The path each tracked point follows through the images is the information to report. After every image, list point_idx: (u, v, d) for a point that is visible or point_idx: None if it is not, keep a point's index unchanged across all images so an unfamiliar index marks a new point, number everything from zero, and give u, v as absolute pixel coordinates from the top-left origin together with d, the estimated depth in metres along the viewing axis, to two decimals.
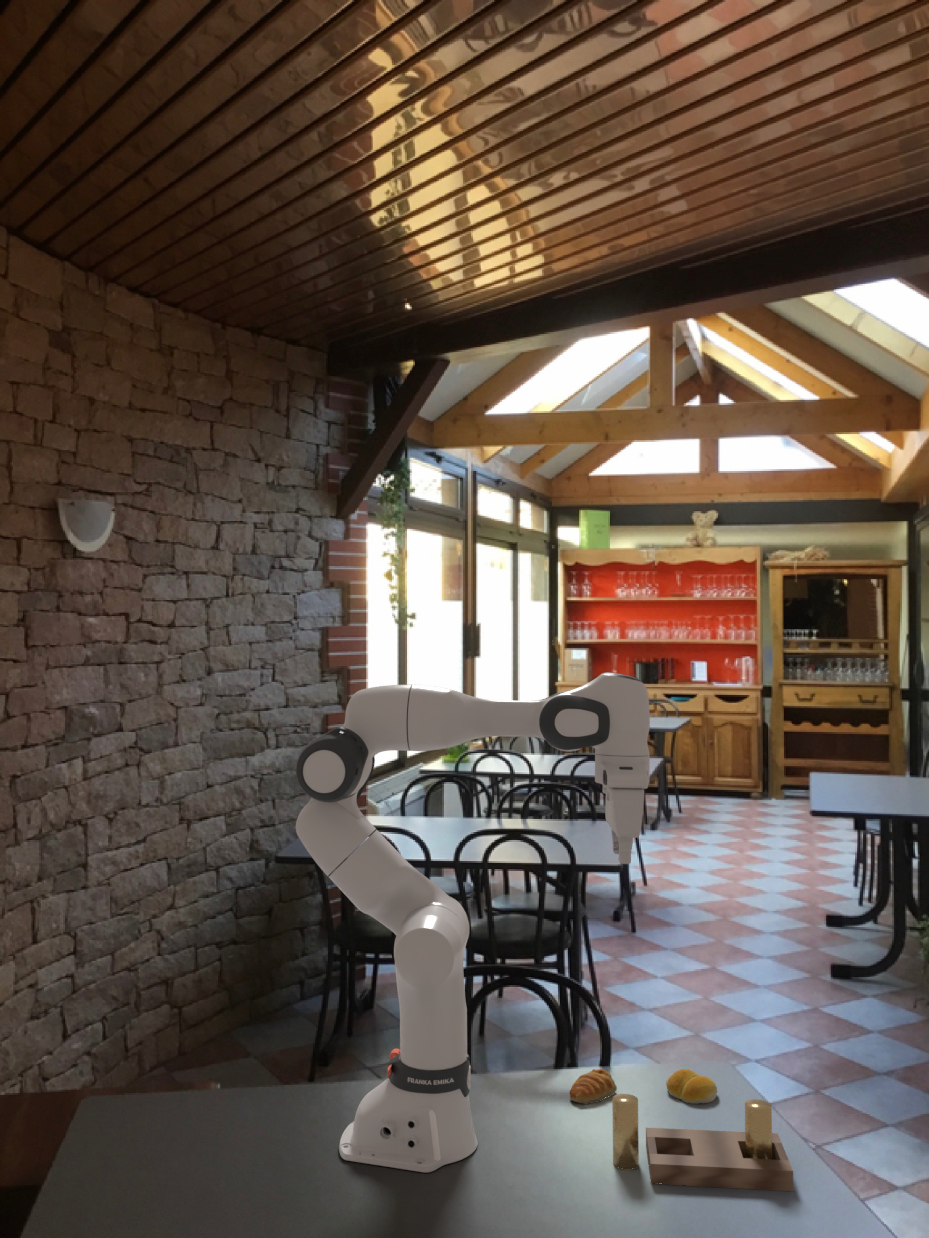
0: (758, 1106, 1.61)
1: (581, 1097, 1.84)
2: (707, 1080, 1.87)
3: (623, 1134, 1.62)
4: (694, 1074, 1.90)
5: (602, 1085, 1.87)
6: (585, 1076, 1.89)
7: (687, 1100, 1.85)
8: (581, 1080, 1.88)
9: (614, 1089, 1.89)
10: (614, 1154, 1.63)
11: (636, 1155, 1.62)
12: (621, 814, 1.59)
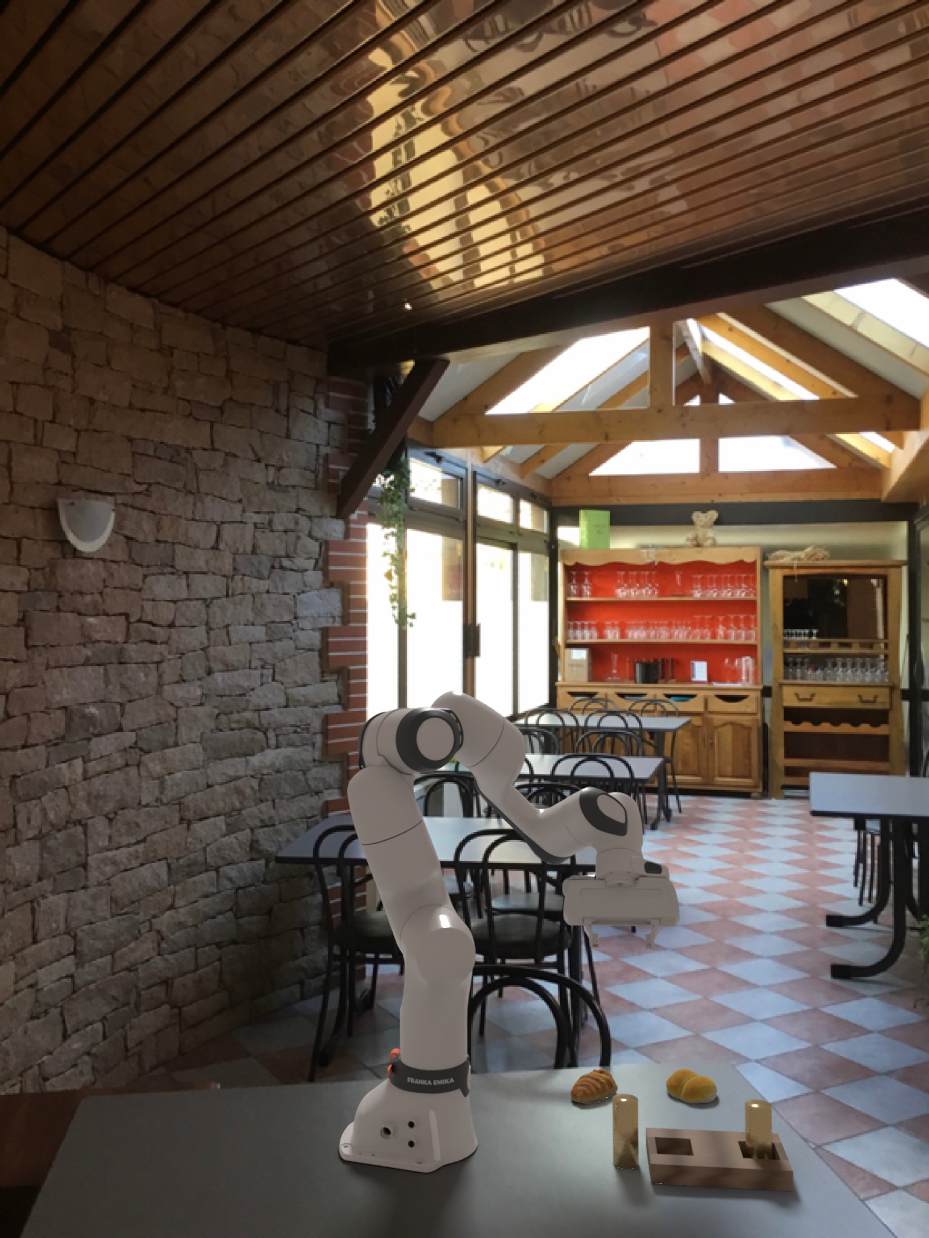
0: (758, 1106, 1.61)
1: (583, 1097, 1.84)
2: (707, 1080, 1.87)
3: (623, 1134, 1.62)
4: (694, 1074, 1.90)
5: (604, 1085, 1.87)
6: (586, 1076, 1.89)
7: (687, 1100, 1.85)
8: (582, 1080, 1.88)
9: (615, 1089, 1.89)
10: (614, 1154, 1.63)
11: (636, 1155, 1.62)
12: None
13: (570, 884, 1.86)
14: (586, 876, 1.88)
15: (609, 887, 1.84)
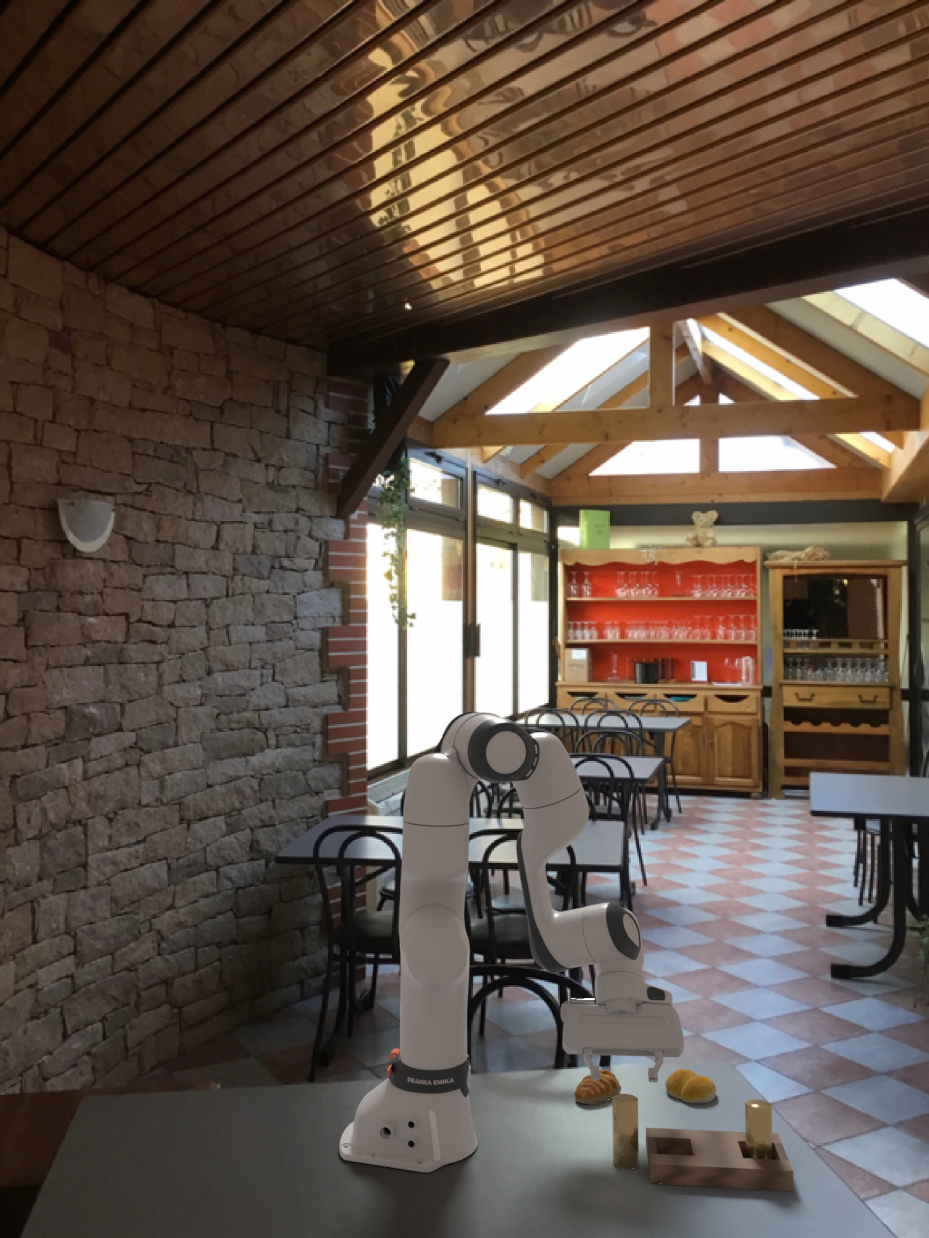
0: (758, 1106, 1.61)
1: (587, 1098, 1.84)
2: (706, 1080, 1.87)
3: (623, 1134, 1.62)
4: (693, 1074, 1.90)
5: (608, 1086, 1.86)
6: (590, 1077, 1.89)
7: (686, 1100, 1.85)
8: (586, 1081, 1.88)
9: (619, 1089, 1.89)
10: (614, 1154, 1.63)
11: (636, 1155, 1.62)
12: None
13: (569, 1009, 1.77)
14: (585, 1000, 1.80)
15: (610, 1014, 1.76)
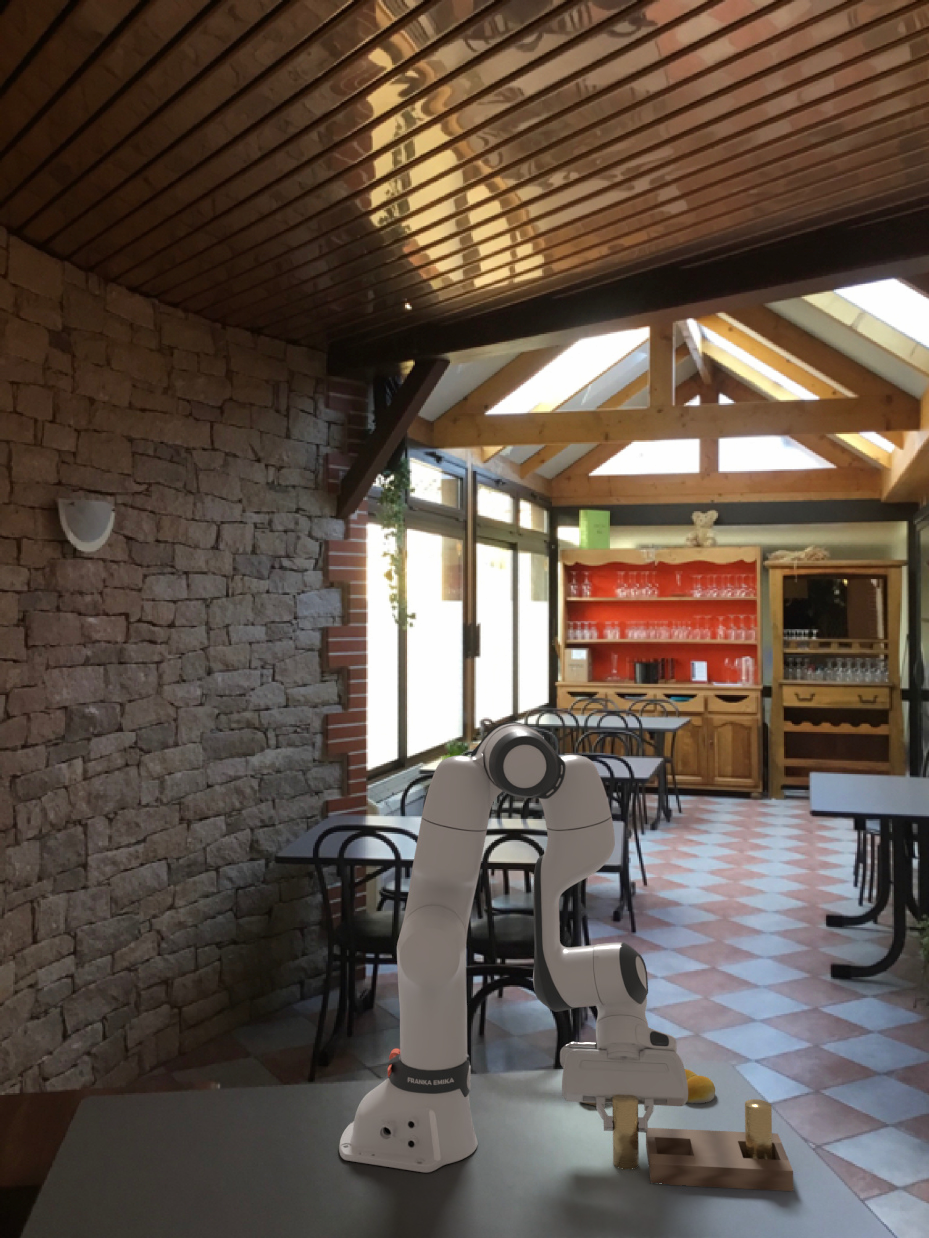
0: (758, 1106, 1.61)
1: None
2: (705, 1080, 1.87)
3: (623, 1134, 1.62)
4: (692, 1074, 1.90)
5: None
6: None
7: None
8: None
9: None
10: (614, 1154, 1.63)
11: (636, 1155, 1.62)
12: None
13: (569, 1054, 1.71)
14: (586, 1044, 1.73)
15: (611, 1059, 1.69)
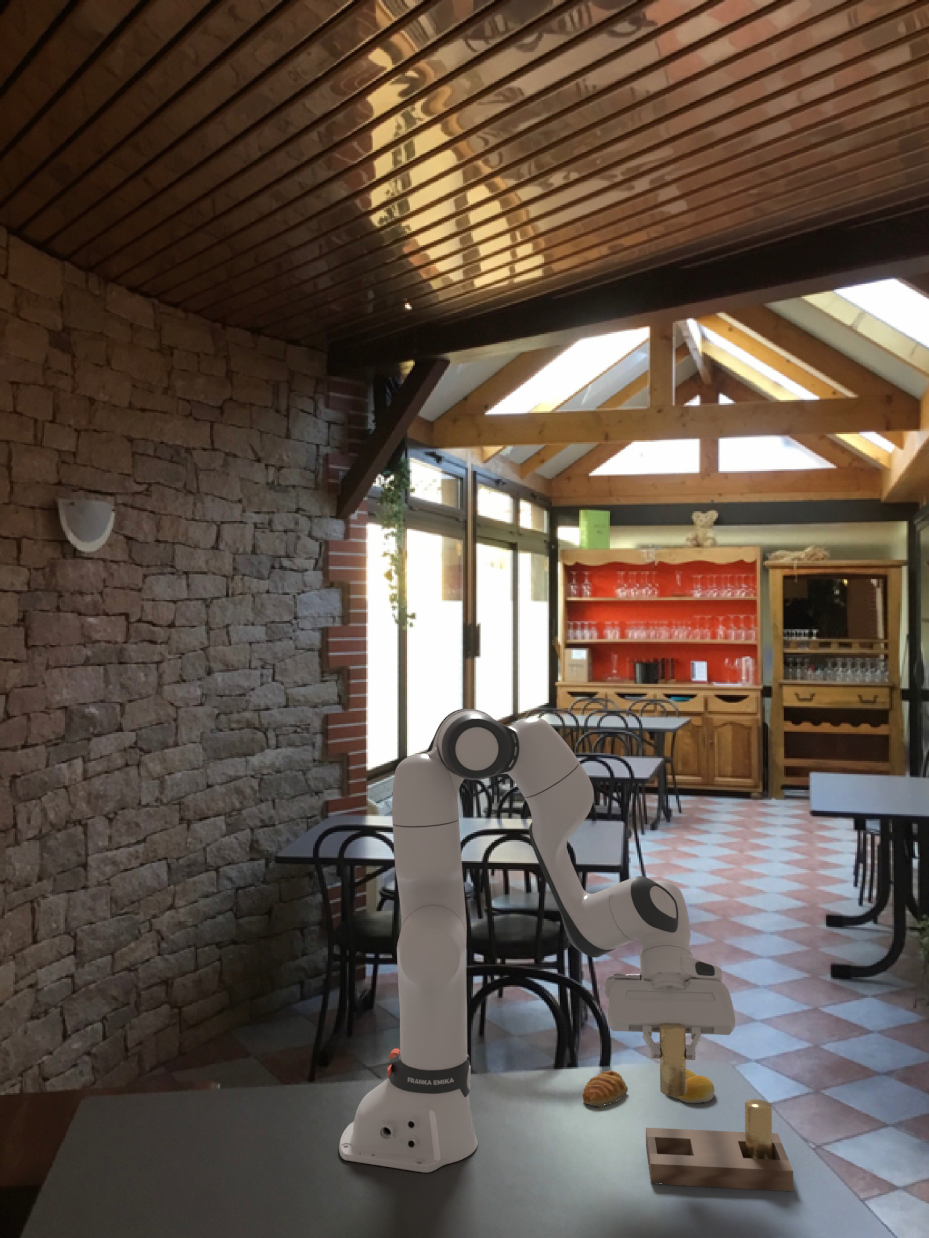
0: (758, 1106, 1.61)
1: (596, 1100, 1.83)
2: (704, 1079, 1.87)
3: (671, 1060, 1.61)
4: (691, 1074, 1.90)
5: (615, 1087, 1.86)
6: (597, 1078, 1.88)
7: (684, 1100, 1.85)
8: (593, 1083, 1.87)
9: (626, 1090, 1.88)
10: (662, 1081, 1.62)
11: (684, 1082, 1.62)
12: None
13: (614, 985, 1.70)
14: (630, 975, 1.72)
15: (657, 989, 1.69)
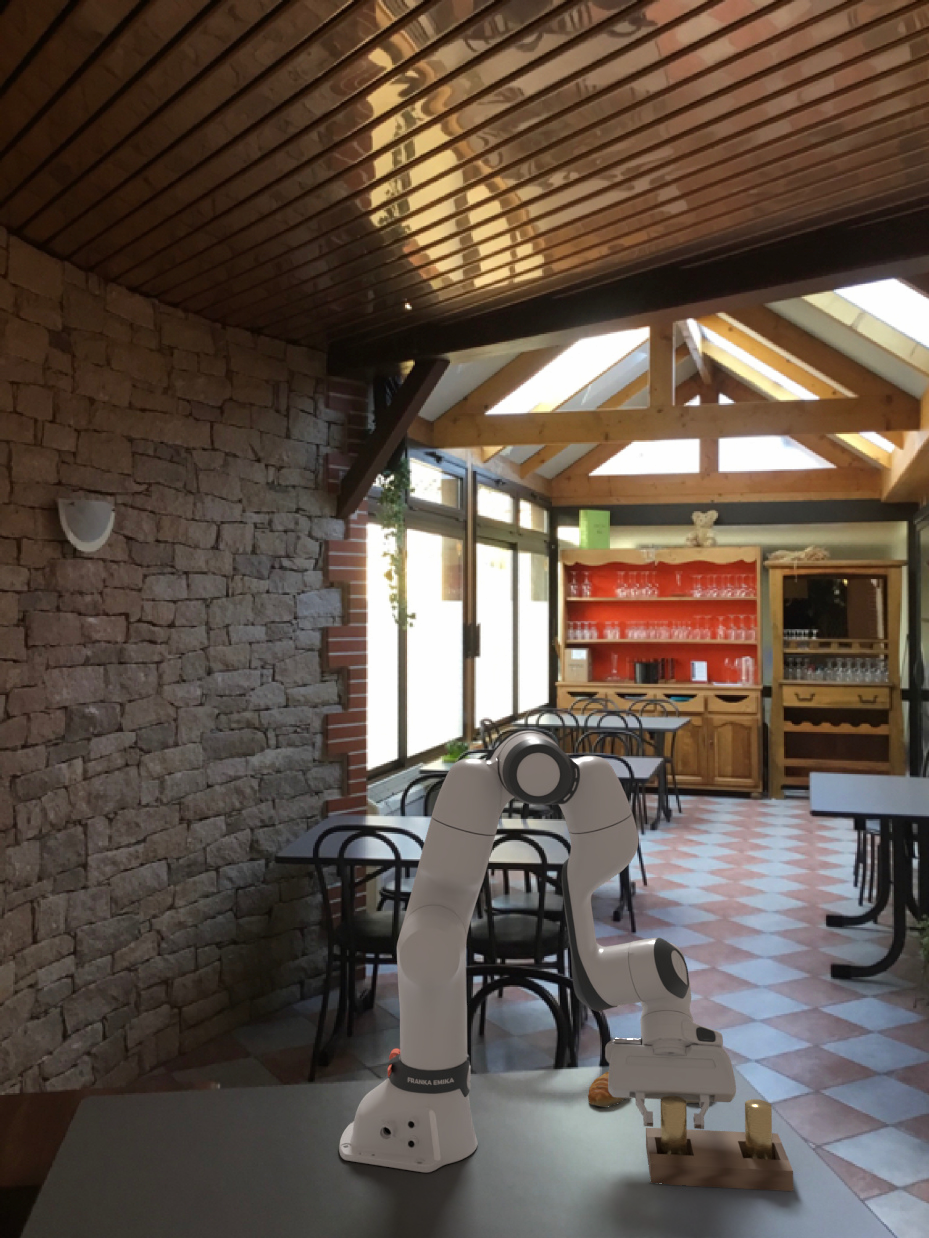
0: (758, 1106, 1.61)
1: (602, 1100, 1.83)
2: None
3: (672, 1136, 1.61)
4: None
5: None
6: (601, 1079, 1.88)
7: None
8: (598, 1083, 1.87)
9: None
10: None
11: None
12: None
13: (615, 1050, 1.70)
14: (631, 1040, 1.72)
15: (658, 1055, 1.69)
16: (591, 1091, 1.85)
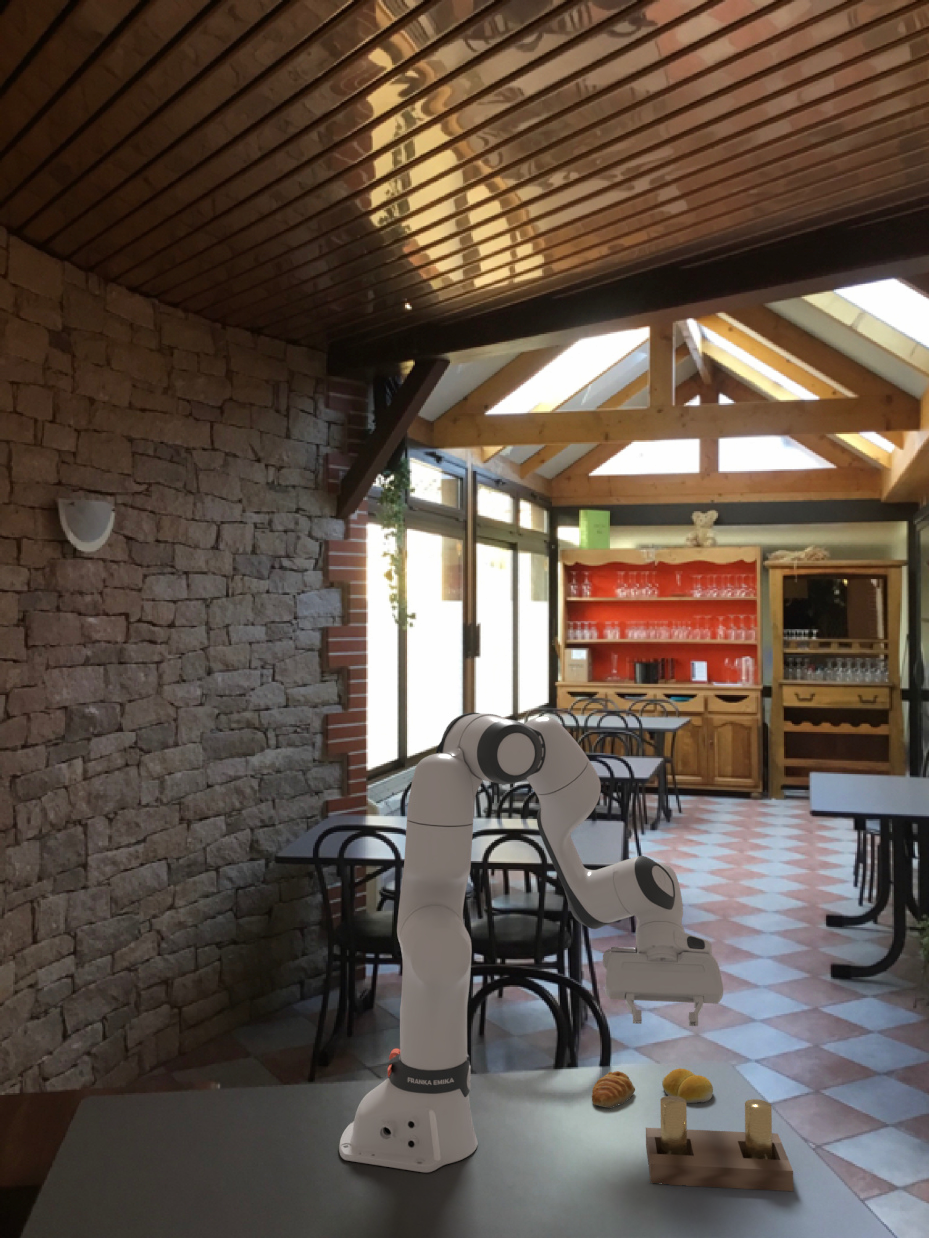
0: (758, 1106, 1.61)
1: (606, 1101, 1.83)
2: (703, 1079, 1.87)
3: (672, 1136, 1.61)
4: (690, 1073, 1.90)
5: (624, 1087, 1.86)
6: (604, 1079, 1.88)
7: None
8: (602, 1084, 1.87)
9: (633, 1090, 1.88)
10: None
11: None
12: None
13: (611, 957, 1.84)
14: (627, 948, 1.86)
15: (651, 961, 1.82)
16: (595, 1092, 1.85)
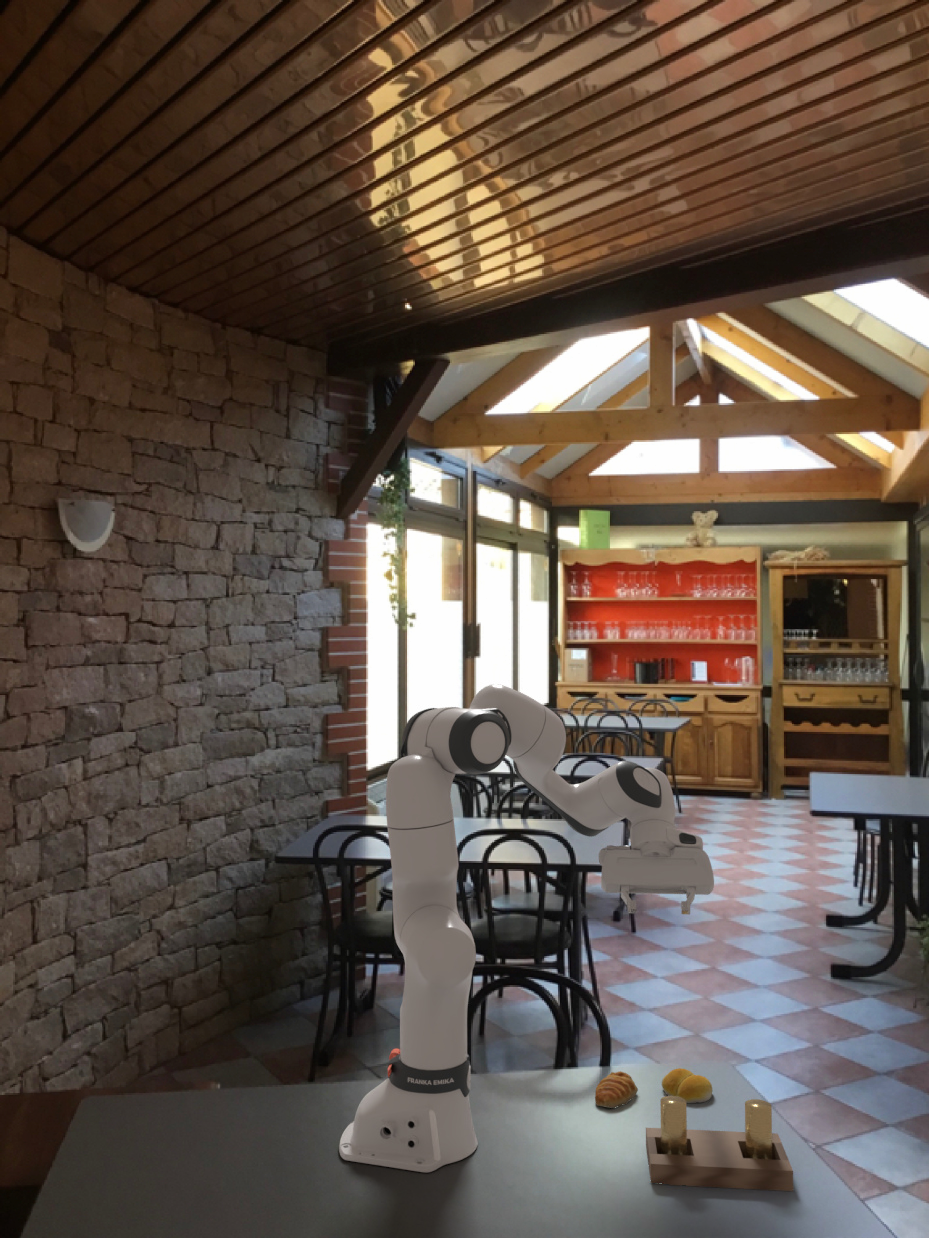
0: (758, 1106, 1.61)
1: (610, 1102, 1.82)
2: (702, 1079, 1.87)
3: (672, 1136, 1.61)
4: (689, 1073, 1.90)
5: (627, 1088, 1.86)
6: (607, 1080, 1.88)
7: None
8: (605, 1084, 1.86)
9: (636, 1091, 1.88)
10: None
11: None
12: None
13: (607, 853, 1.92)
14: (622, 846, 1.94)
15: (645, 856, 1.90)
16: (598, 1092, 1.85)
